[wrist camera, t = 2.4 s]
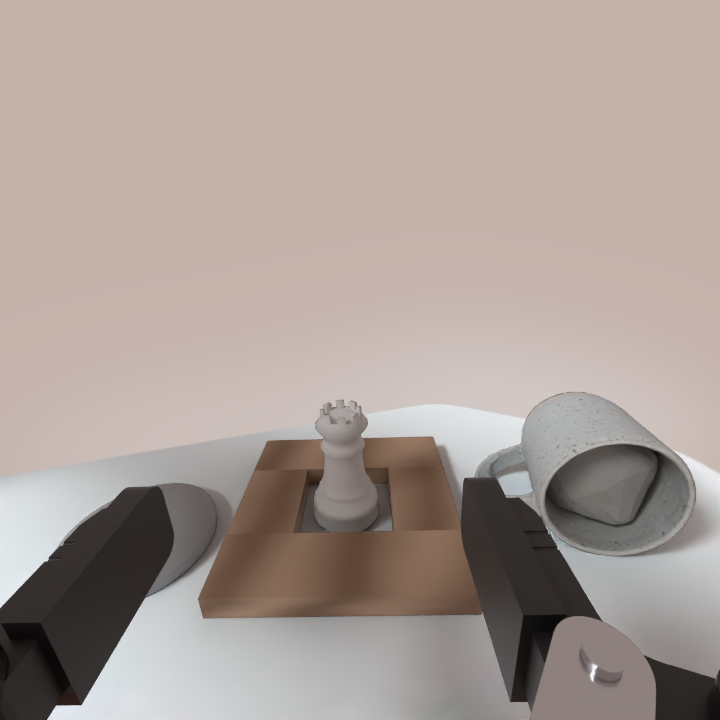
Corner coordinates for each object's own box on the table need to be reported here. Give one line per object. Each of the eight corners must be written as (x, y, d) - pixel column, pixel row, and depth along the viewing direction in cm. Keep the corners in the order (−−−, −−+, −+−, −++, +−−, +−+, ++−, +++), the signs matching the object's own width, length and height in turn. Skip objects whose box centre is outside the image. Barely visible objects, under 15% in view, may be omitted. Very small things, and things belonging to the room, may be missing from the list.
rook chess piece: (377, 542, 23) (374, 429, 20) (307, 537, 23) (294, 427, 20) (381, 492, 27) (379, 393, 24) (321, 489, 27) (312, 392, 25)
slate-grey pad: (10, 611, 19) (4, 600, 19) (117, 493, 28) (114, 484, 28) (178, 609, 19) (175, 597, 19) (235, 490, 28) (233, 482, 27)
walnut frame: (203, 618, 19) (197, 598, 18) (269, 454, 32) (267, 440, 31) (480, 614, 18) (483, 594, 18) (432, 450, 31) (432, 436, 31)
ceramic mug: (613, 472, 28) (634, 380, 25) (679, 566, 20) (718, 448, 18) (469, 463, 30) (474, 376, 27) (480, 544, 23) (489, 436, 20)
